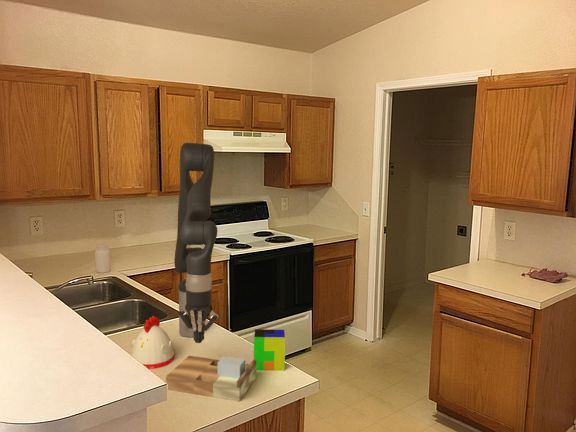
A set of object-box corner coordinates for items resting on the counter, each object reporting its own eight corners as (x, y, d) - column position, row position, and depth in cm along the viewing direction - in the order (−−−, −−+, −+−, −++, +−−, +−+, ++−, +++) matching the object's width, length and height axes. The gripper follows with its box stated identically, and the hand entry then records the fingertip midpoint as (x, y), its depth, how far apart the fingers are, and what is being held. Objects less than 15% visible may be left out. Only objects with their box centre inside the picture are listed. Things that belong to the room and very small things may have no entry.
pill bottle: (92, 272, 266) (91, 246, 264) (100, 269, 274) (99, 243, 272) (105, 273, 265) (105, 246, 263) (113, 269, 273) (112, 243, 271)
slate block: (223, 368, 147) (223, 356, 147) (244, 371, 146) (245, 359, 145) (217, 375, 143) (217, 362, 143) (239, 378, 141) (239, 365, 141)
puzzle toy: (283, 357, 166) (284, 329, 164) (284, 370, 156) (285, 341, 154) (254, 357, 165) (254, 329, 164) (253, 370, 156) (253, 341, 154)
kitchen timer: (122, 364, 157) (120, 320, 155) (147, 348, 170) (147, 307, 168) (158, 372, 153) (157, 327, 151) (181, 355, 166) (181, 313, 163)
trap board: (188, 367, 157) (188, 349, 156) (256, 377, 151) (256, 359, 150) (166, 389, 142) (165, 370, 141) (239, 401, 136) (239, 381, 136)
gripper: (224, 285, 145) (223, 340, 148) (184, 281, 148) (184, 334, 151) (214, 293, 138) (214, 350, 141) (172, 288, 141) (173, 343, 144)
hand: (198, 341), depth 146 cm, fingers closed
